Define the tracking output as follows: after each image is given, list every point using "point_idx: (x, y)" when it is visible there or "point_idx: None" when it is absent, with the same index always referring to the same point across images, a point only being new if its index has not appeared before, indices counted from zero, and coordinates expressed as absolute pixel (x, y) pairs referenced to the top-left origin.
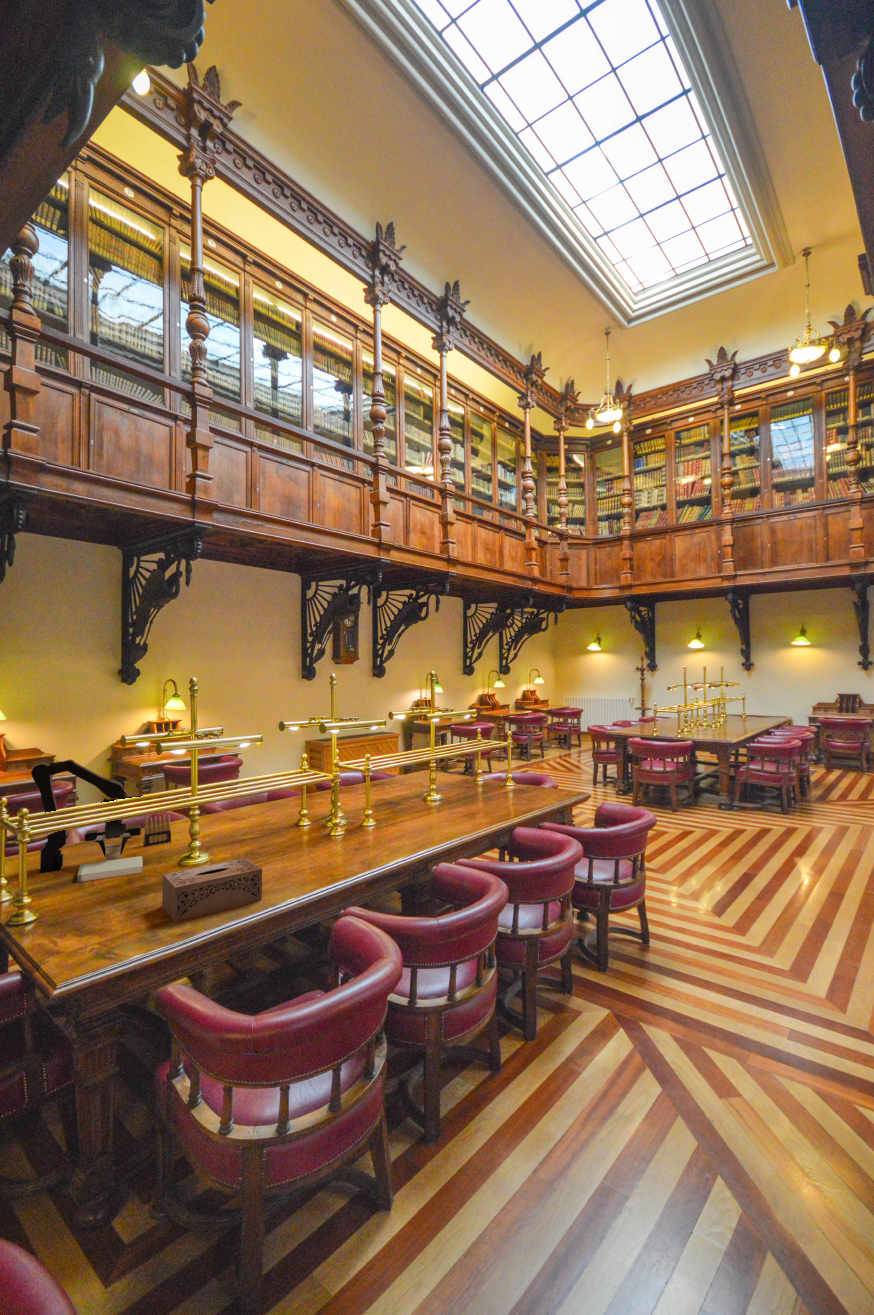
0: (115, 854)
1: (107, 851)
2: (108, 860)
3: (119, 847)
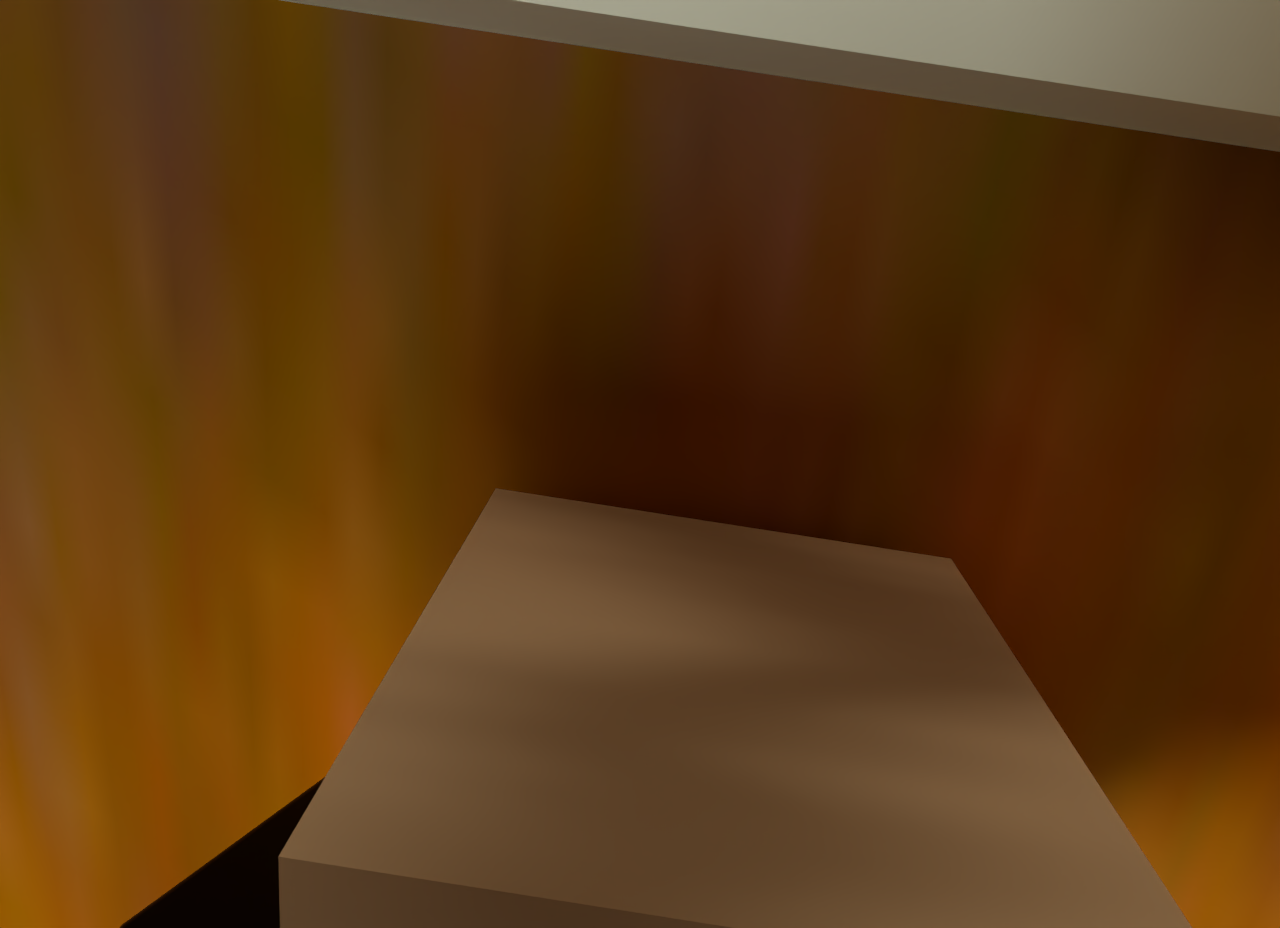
0: (632, 618)
1: (1026, 805)
2: (1024, 71)
3: (364, 820)
